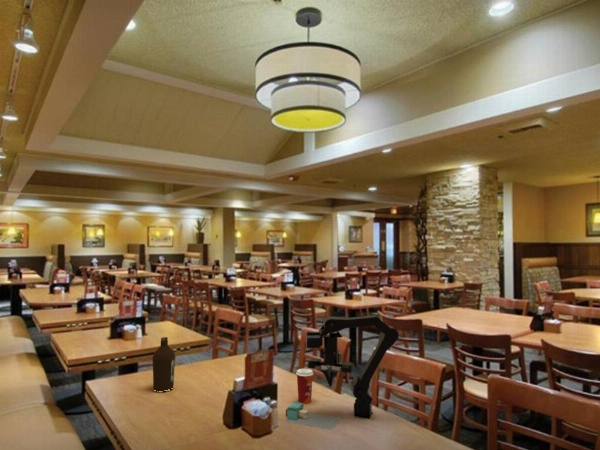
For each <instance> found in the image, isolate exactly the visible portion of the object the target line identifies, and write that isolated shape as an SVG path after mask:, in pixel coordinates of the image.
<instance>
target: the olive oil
mask: <svg viewBox="0 0 600 450" xmlns="http://www.w3.org/2000/svg"><path fill="white" fill-rule="evenodd" d="M175 366H176V354H175V351H174V350H173V349H172V348H171V347H170V346H169V340H168V336H163V337H161V338H160V346H159V347H158V348H157V349H156V351H155V352H154V353H153V355H152V382H153V383H152V388H153V389H154V390H156V391H164V390H168V389H171V388H173V389H174V387H173V386H174V383H175V370H176V369H175Z"/></svg>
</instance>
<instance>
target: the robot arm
mask: <svg viewBox="0 0 600 450" xmlns="http://www.w3.org/2000/svg"><path fill="white" fill-rule="evenodd" d="M363 327H365V328H366V327H374V328H377V330H379V331H380V333H379V337H378V342H377V345H376V347H375V348H374V350H373V352H372V354H371V356H370V358H369V359H368V361H367V362H366V364H365V365H364V368H363V369H362V371H361V373H360V374H358V375H357V374H356V373H355V374H354V376H353V379H351V381H350V382H349V383H350V386H349V388H350V391H351V393H352V395H353V397H355V400H354V403H353V417H355V418H361V419H368V420H369V419H370V418H371V417H372V415H373V414H374V412H372V409H373V408H372V407H373V405H372V401H373V397H372V395H371V394H370V392H369V389H370V384H371V380H372V378H373V376H374V374H375V372H376V371H377V369H378V367H379V365H380V363H381V362H382V360H383V358H384V356H385V355H386V353H387V351H388V350H389V349H390V348H392V346H393V345H395V343H397V341H398V339H399V336H400V334H399V331H398V330H397V329H396V328H394V326H392V325H389V324H388V325H387V324H386V323H385V322H384V321H382V320H381V319H380V317H378V316H377V315H376V314H375V315H374V314H372V315H363V316H356V317H355V316H353V317H338V316H326V317H325V319H323V323H322V325H321V327H320V328H319V330H318V331H306V338H305V348H306V349H320V348H321V347H322V346H323V351H322V355H323V361H322V360H321V358H314V357H312V358H311V359H309V360H308V362H307V369H315V368H317V367H321V368H320V372H322V374H323V375H324V377H325V379H326V381H327V384H328V385H329V387H331V388H332V387H333V386H334V382H335V379H336V376H337V375H338V373H339V372H340V371H341V372H342V373H346V374H351V373H353V372H354V370H355V363H354V362H351V361H350V362H348V361H344V362H343V363H342V360H343V354H342V353H340V352H339V351H340V350H339V346H338V340H339V339H338V338H340V339H341V338H343V335H342V334H341V333H340V331H343V330H345V329H349V328H350V329H353V328H363Z"/></svg>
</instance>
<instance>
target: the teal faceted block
mask: <svg viewBox="0 0 600 450" xmlns="http://www.w3.org/2000/svg"><path fill="white" fill-rule="evenodd" d="M286 409H287V416H286V419H292V420H297V419H298V410H299V409H301V410H304V404H303V403H299V401H293V402H292V403H291V404H289V406H287V408H286Z"/></svg>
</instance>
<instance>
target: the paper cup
mask: <svg viewBox="0 0 600 450" xmlns="http://www.w3.org/2000/svg"><path fill="white" fill-rule="evenodd" d="M295 374H296V379H297V380H296V381H297V398H298V400H297V401H298V403H303V405H307V404H311V402H312V395H313V394H312V393H313V392H312V391H313V377H314V371H313V370H312V368H299V369H297V371H296V373H295Z"/></svg>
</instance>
